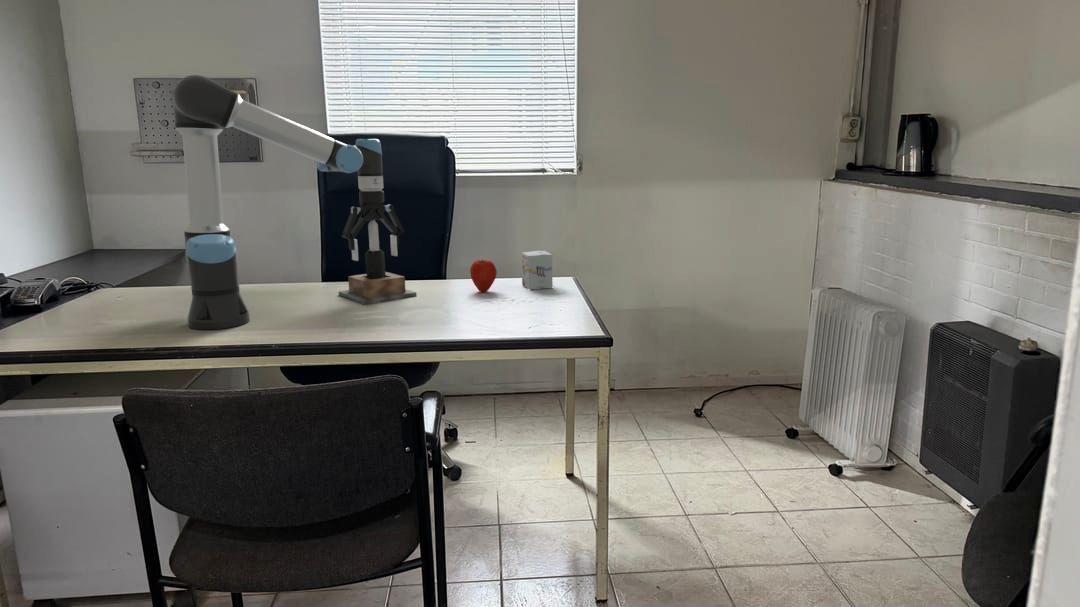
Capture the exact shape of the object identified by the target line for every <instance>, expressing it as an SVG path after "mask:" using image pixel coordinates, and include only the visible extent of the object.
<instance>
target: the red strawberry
mask: <svg viewBox="0 0 1080 607" xmlns="http://www.w3.org/2000/svg"><path fill="white" fill-rule="evenodd" d="M469 272H470V278H471V281H472V283H473V285H474V286H475V287H476V289H477V290H478V291H479V292H480V291H481V292H480V293H486V292H485V291H487V292H488V291H489V290H490V289H491V287H492V285H493V284H494V282H495V281H496V278H497V274H498V270H497V268H496V266H495V264H494V262H493V261H491V260H488V259H487V260H486V259H483V258H482V259H477V260H474V261H473V262H472V264H471V265H470V271H469Z"/></svg>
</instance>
